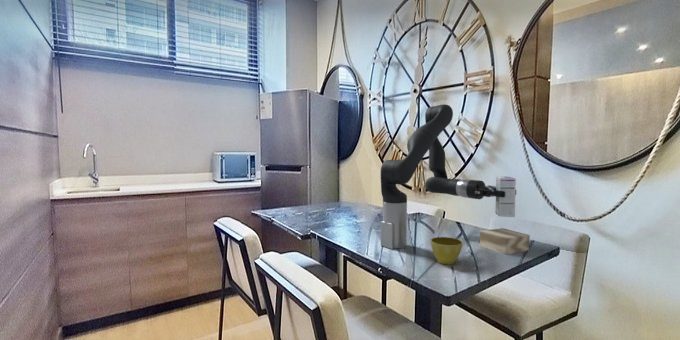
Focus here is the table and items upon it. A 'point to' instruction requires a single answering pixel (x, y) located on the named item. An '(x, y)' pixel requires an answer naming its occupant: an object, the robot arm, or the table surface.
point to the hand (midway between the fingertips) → (510, 193)
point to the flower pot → (446, 249)
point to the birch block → (504, 240)
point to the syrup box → (506, 196)
